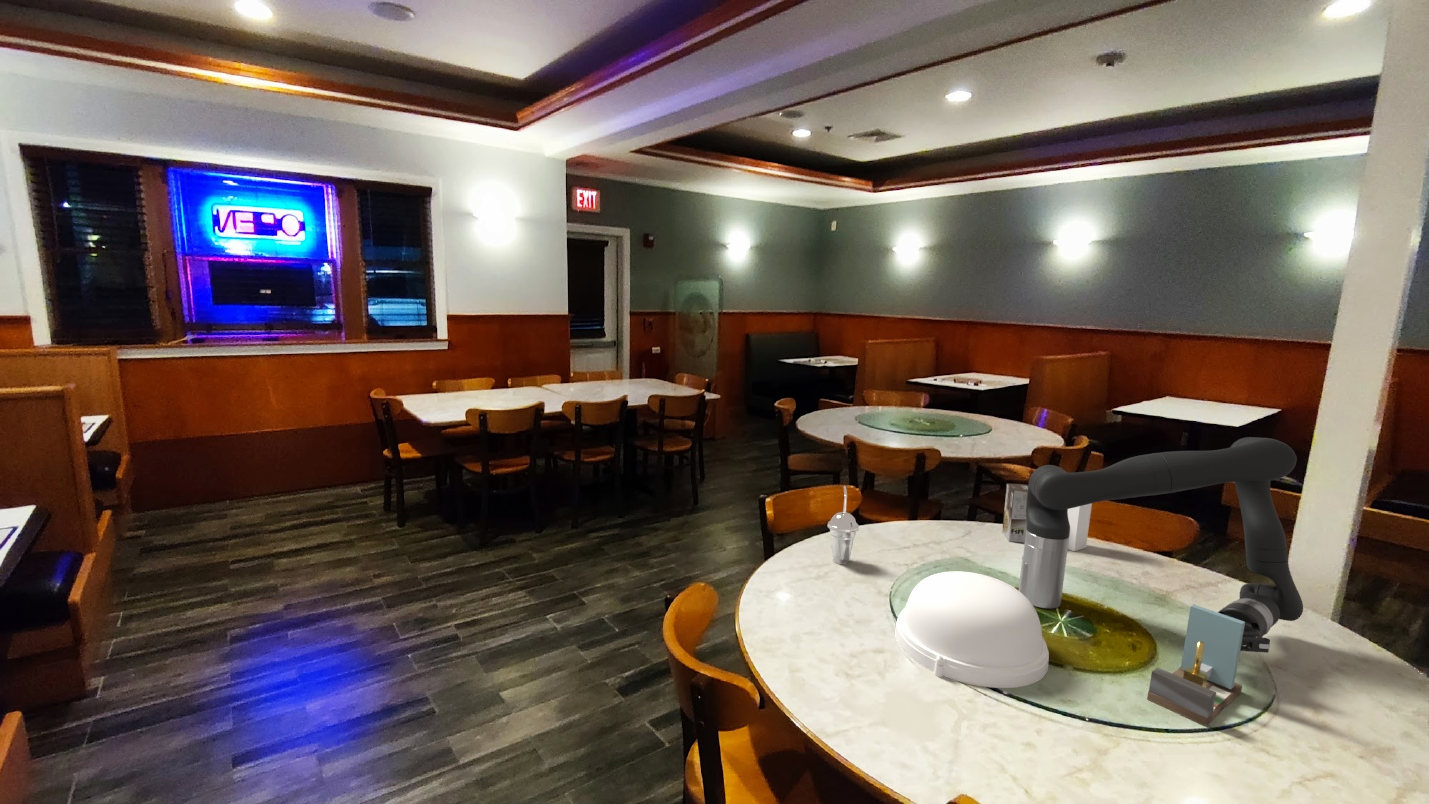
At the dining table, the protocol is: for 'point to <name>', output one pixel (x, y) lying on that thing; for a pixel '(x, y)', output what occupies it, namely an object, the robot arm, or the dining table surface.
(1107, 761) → the dining table surface
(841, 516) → the cup with straw
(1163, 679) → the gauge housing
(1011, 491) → the coffee box
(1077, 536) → the milk
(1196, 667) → the gold upright bar
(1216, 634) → the blue-grey rectangular panel
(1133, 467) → the robot arm
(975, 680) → the dome cover
